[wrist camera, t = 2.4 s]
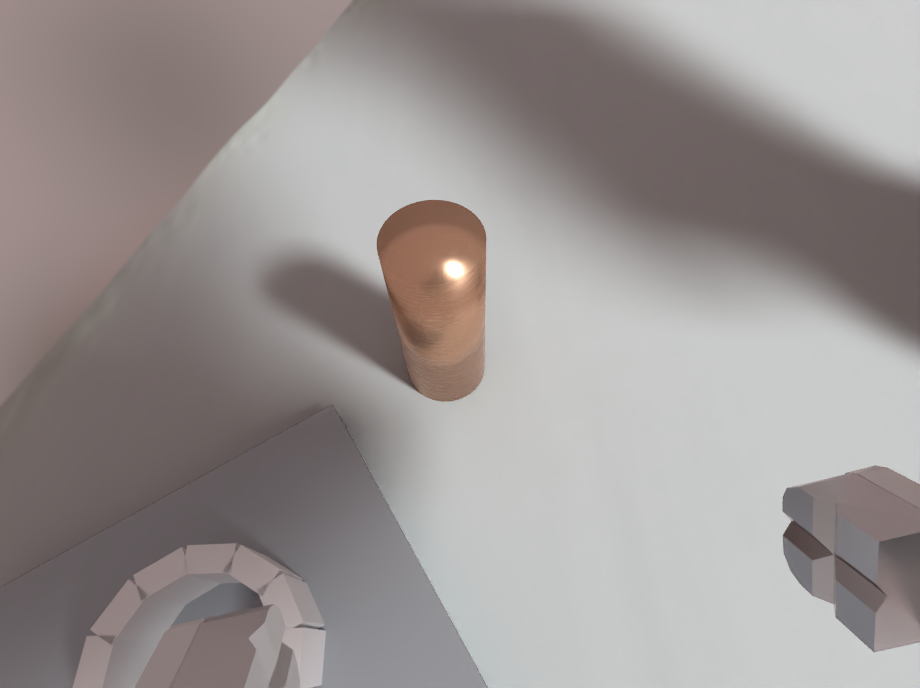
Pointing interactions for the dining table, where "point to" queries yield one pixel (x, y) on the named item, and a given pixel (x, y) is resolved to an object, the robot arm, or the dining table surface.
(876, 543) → the robot arm
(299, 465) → the collar plate
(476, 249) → the copper tube
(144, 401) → the dining table surface
